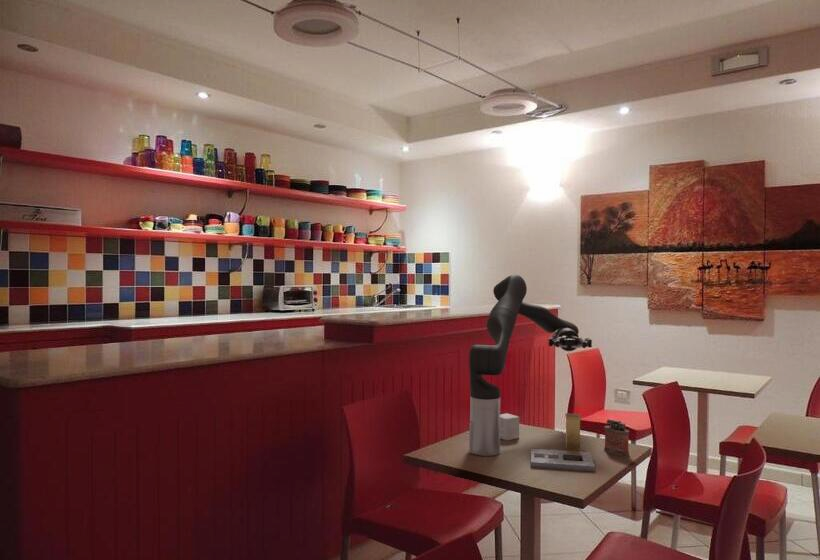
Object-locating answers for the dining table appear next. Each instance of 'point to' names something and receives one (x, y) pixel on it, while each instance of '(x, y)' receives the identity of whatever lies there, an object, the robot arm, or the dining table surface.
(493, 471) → the dining table surface
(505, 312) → the robot arm
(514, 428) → the product box
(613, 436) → the lighter
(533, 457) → the grey slotted tray
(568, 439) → the yellow rectangular block
